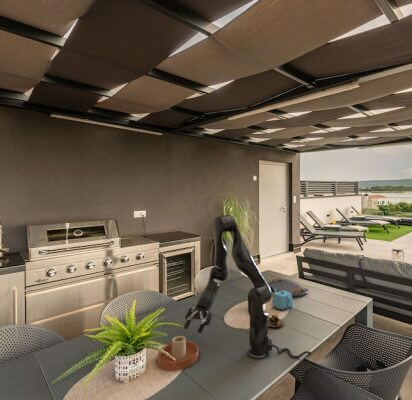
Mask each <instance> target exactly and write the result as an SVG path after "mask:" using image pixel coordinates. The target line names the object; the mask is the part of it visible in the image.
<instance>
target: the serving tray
mask: <svg viewBox="0 0 412 400" xmlns="http://www.w3.org/2000/svg"><path fill="white" fill-rule="evenodd" d="M266 283H267V284H268V286H269V288H270V289H273V288H275V289H276V291H277V292H280V291H287V292H289V293H291V295H292V297H295V296H300V295H305V294H306V293H307V292H308V293H309V292H310V289H308V288H305V287H304V286H301V285H299V284H296V283H294V282H292V281H289V280H287V279H282V278H280V277H274V278H272V279H271V280H270V281H268V282H266ZM273 290H274V289H273Z"/></svg>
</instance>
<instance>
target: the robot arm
mask: <svg viewBox="0 0 412 400" xmlns="http://www.w3.org/2000/svg"><path fill="white" fill-rule="evenodd" d="M213 220H214V221H213V239H214V260H213V261H214V265H215V266H213V267H211V269H210V271H209V277H208V281H207V284H206V286H205V288H204V290H203V292H202V293H201V295H200V297H199V299H198V301H197V303H196V306H195V308H192V307H190V308H189V309H188V311H187V313H186V314H185V316H184V319H185V320H186V321H185V324H184V325H183V329H185V330H188V329H189V327H190V325H191V322H192V321H194V320H199V321H200V322H201V324H200V325H199V327H198V329H197V333H199V334H201V333H202V332H203V330H204V328H205V326H209V325H210V323H211V321H212V318H213V315H214V314H213V313H212V312H211V311H210V310H211V308H212V306H213V304H214V302H215V299H216V297H217V294H218V291H219V290H220V287H221V286H220V284H219V283H218V282H217V281H220V282H226V281H227V280H228V278H229V267H228V262H227V261H228V249H227V246H226V244H225V242H224V241H223V235H224V234H225V233H229V235H230V236H231V239H232V247H231V258H232V259H233V261H234V263H235V266H236V267H237V269H238V270H239V271H240V272H242V274H244V275H245V276H246V277H247V278H248V279H249V280H250V282H251V283H252V285H253V287H252V288H250V289H249V291H248V293H247V312H248V316H249V334H248V335H249V336H248V337H249V339H248V340H249V341H248V344H247V345H248V355H249V357H251V358H252V359H253V358H254V359H263V358H266V357H269V352H270V351H271V352H272V351H273V348H275V349H276V350H277V353H278V354H282V353H283V352H284V351H287V352H288V355H289V357H290V358H292V359H298V358H300V357H302V356H303V355H305V354H309V355H311V354H312V353H311V351H308V350H304V351H303V352H302V353H300V354H298V355H292V353H291V351H290V349H289V348H286V347H284V348H282V349H281V350H280V348H279V347H278V346H277V345H275V344H273V341H272V338H269V326H268V318H269V312H268V311H267V310H265V309H264V305H266V304H268V303H269V302H271V300H273V294H272V290H271V288H270V287H269V286H268V284H267V283H268V282H267V281H266V279H265V278H264V276H263V275H262V272H261V271H260V269H259V267H258V265H257V263H256V261H255V260H254V258H253V255H252V253H251V251H250V250H249V248H248V246H247V244H246V242H245V239H244V238H243V235H242V234H241V230H240V228H239V226H238V223H237V220H236V218H235V217H234V216H233V215H232V214H227V215H226V214H225V215H220V216H217V217H215V218H214V219H213ZM215 280H216V281H215Z"/></svg>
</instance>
